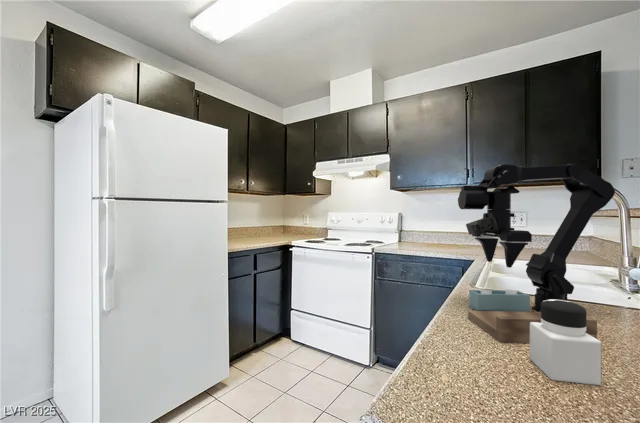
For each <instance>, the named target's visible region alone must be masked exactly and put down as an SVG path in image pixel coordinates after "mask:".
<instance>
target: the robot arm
mask: <svg viewBox="0 0 640 423" xmlns="http://www.w3.org/2000/svg"><path fill="white" fill-rule="evenodd" d="M483 175H484V176H483V177H484V178H482V180H481V181H480V183H479V184H478V185H477V186H476V185H475V186H473V185H472V186H471V185H462V186H461V188H460V191H459V194H458V197H457V205H458V207H459V209H460V210H483V209H484V208H485V207H486V208H487V209H486V210H487V212H483V214H482V218H479V219H476V220H473V221H471V222H468V223H466V224H465V227H466V229H467V231H468V232H467V233H468V235H470V236H472V237H474V239H475V240H476V241H478V242H479V243H480V245H481V247H482V249H483V251H484V252H483V254H484V255H485V259H486V261H487V262H488V263H491V262H492V261H493V258H494V256H495V252H496V249H497V245H498V243H499V244H500V245H501V246H502V247H503V250H504V258H505V265H506V268H509V269H510V268H513V265H514V264H515V262H516V260H517V259H518V257H519V255H520V254H521V252H522V251H523V250H524V248H525V247H526V246H528V245H529V243H531V242H533V234H532V233H531V232H530V231H529V230H524V229H523V230H522V229H515V227H511V226H512V225H511V224H512V223H511V222H512V221H511V219H512V218H515V212H512V211H511V210H512V208H511V207H512V206H511V204H512V199H511V198H512V195H514V194H519V193H520V190H519V189H518V188H516V187H515V186H514V185H513V184H515V183H520V182H529V181H532V182H533V181H550V180H560V181H562V183H563V186H564V187H565V190H567V191H569V192H570V194H571V195H570V197H569V203H570V208H569V210H568V212H567V213H566V216H565V217H564V218H563V220H562V223H560V225H559V227H558V228H557V230H556V232H555V234H554V235H553V237H552V239H551V240H550V242H549V244H548V245H547V248H546V249H545V250H544V251H543V252H542V253H540V254H538V253H533V254H531V257H530V258H529V261H528V262H527V263H525V266H526V269H525V272H526V275H527V277H528V278H529V280H530V281H531V284H532V286H534V287H536V289H535V290H536V292H535V293H534V305H532V307H531V308H532V309H534V310H536V311H537V312H541V302H543V301H545V300H550V299H556V300H564V301H568V295H572V294H573V292H574V289H575V286H574V284H572V283H571V282H570V281H569V280H568V279H566V277H565V275H566V274H567V259H568V256H569V255H570V253H571V252H572V250H573V248H574V246H575V244H576V243H577V241H578V240H579V238H580V236H581V234H582V233H583V231H584V230H585V228H586V226H587V225H588V223H589V221H590V220H591V218H592V216H593V215H594V214H595V213H597V212H599V211H600V210H602V209H603V208H604V207H606V206H607V205H608V204H609V203H610V201H611V200H612V199H613V198H614V196H615V193H616V190H615V189H614V186H613V185H612V183H611V182H610V181H607V180H605V179H604V178H602V177H601V176H600V175H598V174H595V173H593V172H591V171H590V170H587V169H585V168H584V167H582V166H581V165H580V164H578V163H568V164H557V165H544V166H543V165H542V166H520V165H517V164H507V163H502V164H499V165H497V166H492V167H489V168H488V169H486V170H485V173H484V174H483ZM500 186H506V187H500ZM491 189H493V190H492V191H489V190H491ZM499 240H500V241H499Z"/></svg>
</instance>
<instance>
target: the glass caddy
mask: <svg viewBox="0 0 640 423" xmlns="http://www.w3.org/2000/svg"><path fill="white" fill-rule="evenodd" d="M468 291H469V292H468V293H469V302H468V304H469V308H470V307H471V308H470V309H472V310H473V309H474V310H473V311H515V312H531V295H530V294H528V293H524V292H523V291H520V290H513V289H504V290H503V289H502V290H501V289H500V290H499V289H498V290H497V289H495V290H494V289H486V288H485V289H483V288H482V289H469V290H468Z"/></svg>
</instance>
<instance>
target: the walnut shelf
mask: <svg viewBox="0 0 640 423" xmlns="http://www.w3.org/2000/svg"><path fill="white" fill-rule="evenodd" d="M467 319H468V320H470V322H472V323H474V324H475V325H476V326H478V327H479V328H480V329H481V330H483V331H484V332H486V333H487V334H488V335H490V336H491V337H492V338H493V339H495V340H496V341H498V342H499V343H503V344H504V343H505V344H506V343H507V344H530V322H538V323H541V312H540V311H530V312H515V311H475V310H468V311H467ZM585 333H587V334H589V335H591V336H592V337H594V338H596V339H598V320H597V319H594V318H592V317H586V332H585Z"/></svg>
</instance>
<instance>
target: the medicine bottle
mask: <svg viewBox="0 0 640 423" xmlns="http://www.w3.org/2000/svg"><path fill="white" fill-rule="evenodd" d="M586 318H587V309H586V308H585V307H584V306H582V305H580V304H578V303H575V302H572V301H569V300H567V301H564V300H556V299H550V300H545V301H543V302H541V323H538V322H530V343H529V359H530V361H531V362H532V363H533V364H535V366H537V368H538V369H540V370H541V371H542V372H543V373H544V374H545V375H546V377H549V379H550V380H552V381H557V382H567V383H574V384H575V383H576V384H583V385H584V384H585V385H593V386H601V385H602V341H601V340H599V339H598V338H597V339H596V338H594V337H592V336H591V335H589V334H587V333H585V332H586Z"/></svg>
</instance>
